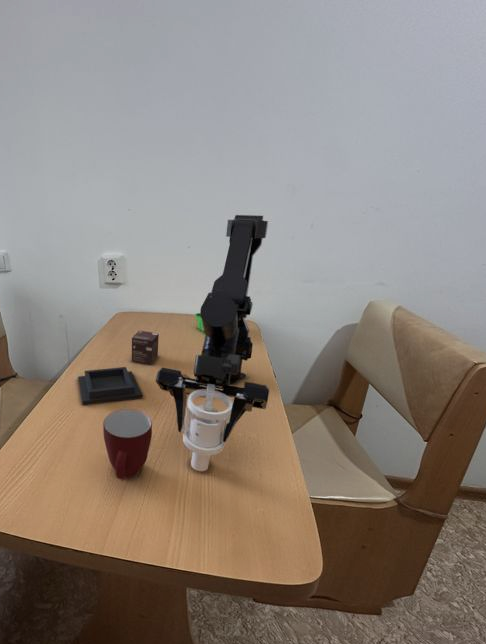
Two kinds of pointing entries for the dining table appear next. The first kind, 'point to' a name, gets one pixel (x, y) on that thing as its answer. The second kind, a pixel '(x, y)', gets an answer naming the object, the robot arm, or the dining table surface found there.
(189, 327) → the dining table surface
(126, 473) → the mug
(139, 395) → the dock pad
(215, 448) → the white stemmed open cylinder
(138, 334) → the box
